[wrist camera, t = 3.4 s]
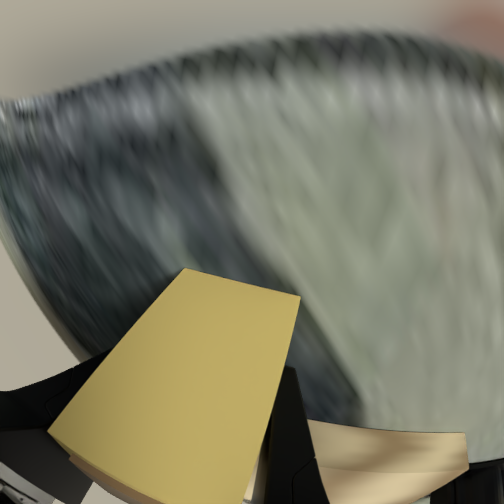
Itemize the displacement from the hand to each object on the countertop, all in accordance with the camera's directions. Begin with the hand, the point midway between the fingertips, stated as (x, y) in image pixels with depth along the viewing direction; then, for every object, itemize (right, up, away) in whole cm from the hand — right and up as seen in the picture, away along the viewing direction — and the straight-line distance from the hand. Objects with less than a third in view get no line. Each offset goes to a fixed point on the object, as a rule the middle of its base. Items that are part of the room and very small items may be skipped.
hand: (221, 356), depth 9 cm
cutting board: (+6, -10, +5) cm, 12 cm away
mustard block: (0, +1, +1) cm, 2 cm away
